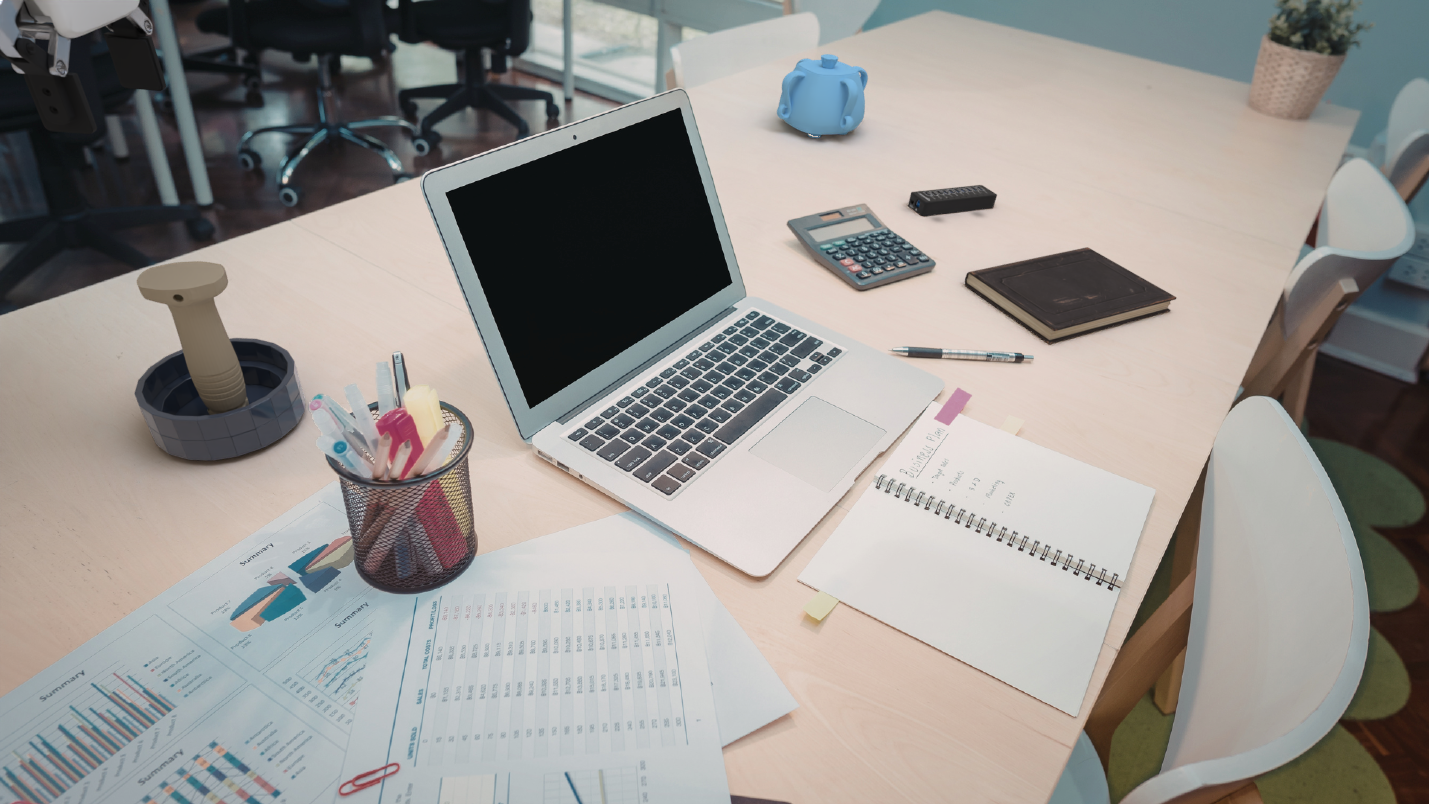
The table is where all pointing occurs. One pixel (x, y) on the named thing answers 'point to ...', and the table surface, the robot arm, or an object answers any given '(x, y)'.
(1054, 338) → the hardcover book
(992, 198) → the multiport hub
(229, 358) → the handle
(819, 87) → the decorative pot
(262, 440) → the bowl
